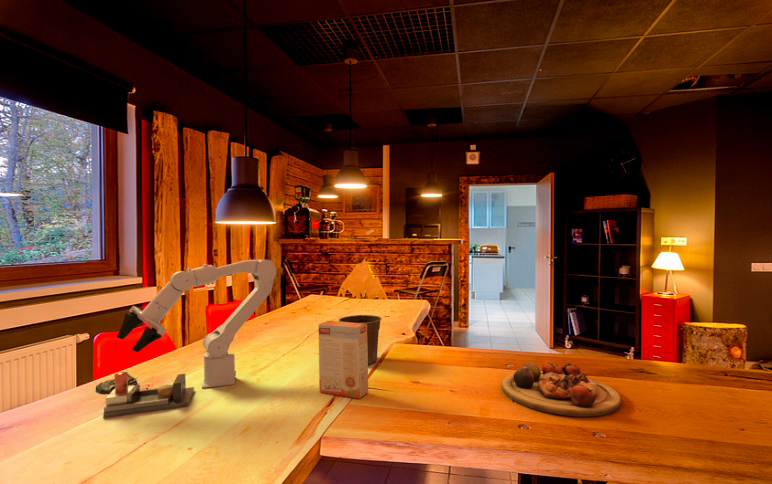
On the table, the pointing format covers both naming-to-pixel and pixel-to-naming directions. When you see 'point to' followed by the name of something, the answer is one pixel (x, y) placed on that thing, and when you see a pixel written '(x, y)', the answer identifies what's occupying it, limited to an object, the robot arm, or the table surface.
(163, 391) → the tan rounded lump
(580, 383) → the wooden plate with food
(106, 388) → the log
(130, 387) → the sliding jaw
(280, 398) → the table surface
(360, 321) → the plant pot
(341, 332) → the cracker box
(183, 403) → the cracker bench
